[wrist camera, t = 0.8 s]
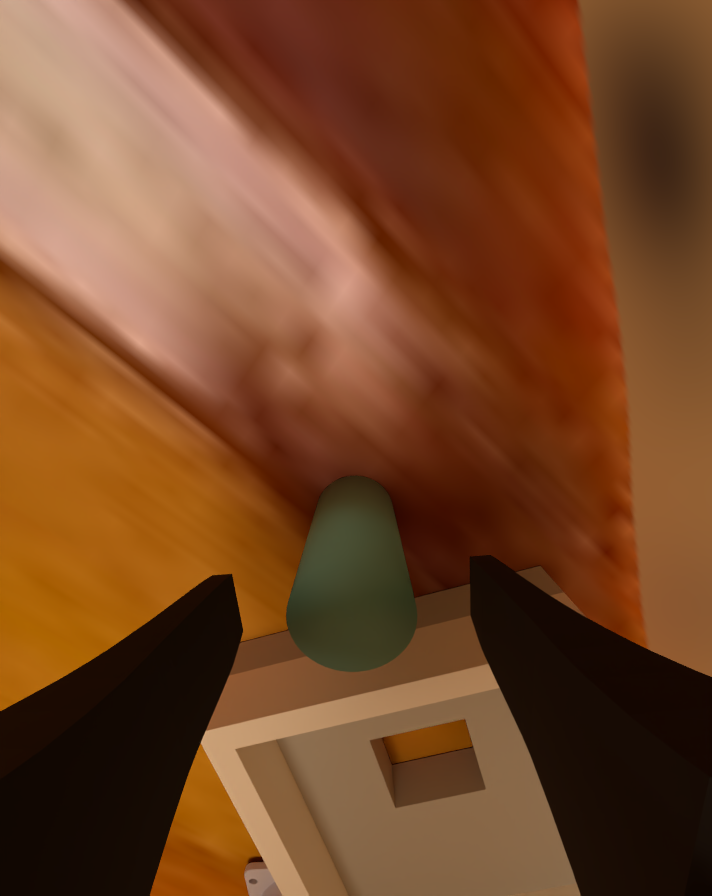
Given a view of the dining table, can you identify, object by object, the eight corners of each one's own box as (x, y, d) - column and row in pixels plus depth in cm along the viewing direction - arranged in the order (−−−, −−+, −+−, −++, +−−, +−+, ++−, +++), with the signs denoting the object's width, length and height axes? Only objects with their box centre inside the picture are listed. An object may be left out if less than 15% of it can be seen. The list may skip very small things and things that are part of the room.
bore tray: (596, 841, 21) (657, 964, 17) (348, 889, 23) (346, 1015, 18) (540, 565, 17) (603, 636, 13) (235, 643, 18) (195, 733, 14)
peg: (395, 543, 17) (420, 667, 10) (321, 549, 17) (295, 675, 10) (390, 472, 16) (414, 554, 9) (312, 478, 16) (277, 565, 9)
